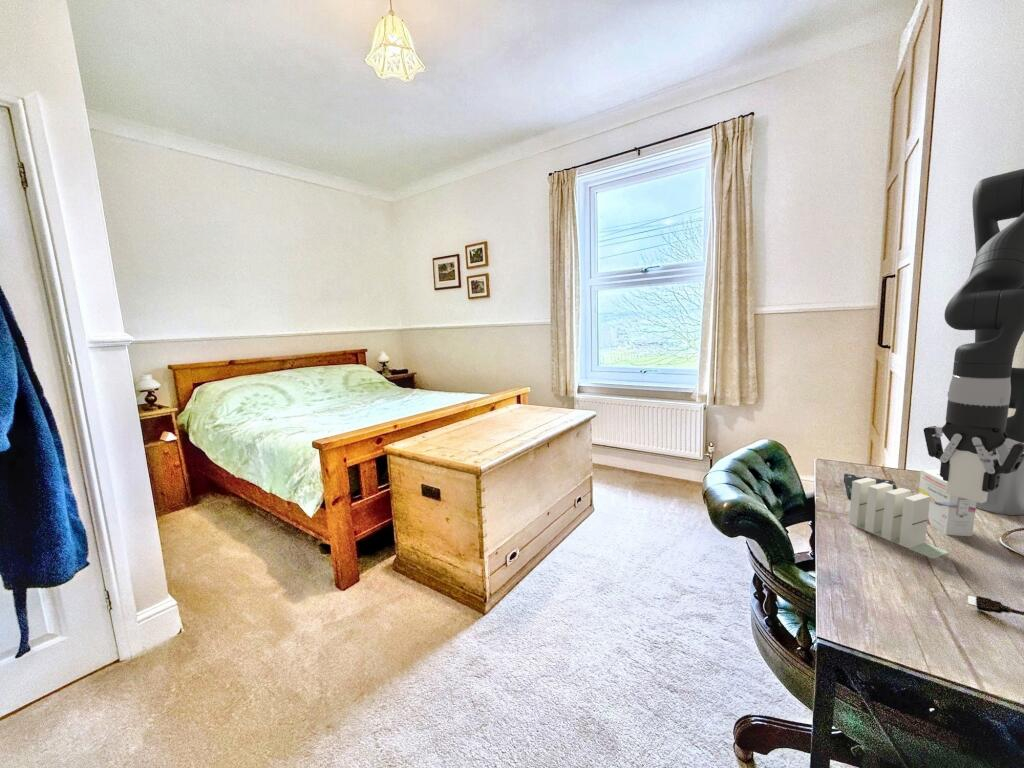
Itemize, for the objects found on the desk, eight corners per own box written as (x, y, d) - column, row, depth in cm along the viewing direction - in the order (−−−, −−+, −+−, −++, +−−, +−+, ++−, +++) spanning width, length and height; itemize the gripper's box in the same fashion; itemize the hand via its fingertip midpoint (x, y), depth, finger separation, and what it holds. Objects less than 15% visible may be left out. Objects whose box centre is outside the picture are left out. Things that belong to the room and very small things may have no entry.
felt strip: (862, 519, 92) (862, 517, 92) (949, 554, 78) (949, 552, 78) (846, 524, 91) (846, 522, 91) (932, 560, 77) (932, 558, 77)
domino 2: (879, 525, 89) (884, 482, 87) (888, 528, 87) (893, 485, 86) (864, 529, 87) (868, 486, 86) (873, 533, 86) (877, 489, 84)
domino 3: (896, 531, 86) (901, 487, 85) (906, 535, 85) (911, 490, 83) (881, 536, 85) (885, 491, 83) (890, 540, 83) (895, 494, 81)
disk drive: (842, 482, 114) (847, 502, 102) (843, 473, 113) (848, 491, 101) (892, 490, 108) (903, 511, 96) (893, 480, 107) (904, 500, 95)
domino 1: (864, 518, 92) (868, 477, 90) (872, 522, 90) (876, 480, 89) (848, 523, 90) (852, 481, 89) (857, 526, 89) (860, 483, 87)
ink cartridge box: (913, 517, 92) (920, 456, 90) (939, 518, 91) (947, 456, 89) (944, 536, 84) (953, 470, 82) (973, 538, 83) (983, 470, 81)
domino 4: (915, 538, 83) (920, 493, 82) (925, 542, 82) (930, 496, 80) (899, 544, 82) (904, 497, 80) (909, 548, 80) (914, 501, 79)
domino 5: (946, 492, 80) (951, 445, 78) (951, 491, 81) (956, 443, 79) (981, 503, 75) (988, 452, 74) (986, 501, 76) (993, 451, 74)
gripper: (1048, 403, 69) (1034, 496, 72) (939, 391, 83) (931, 469, 85) (1024, 409, 67) (1011, 504, 70) (916, 395, 80) (908, 476, 83)
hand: (967, 485), depth 78 cm, fingers closed on domino 5, 5 cm apart
